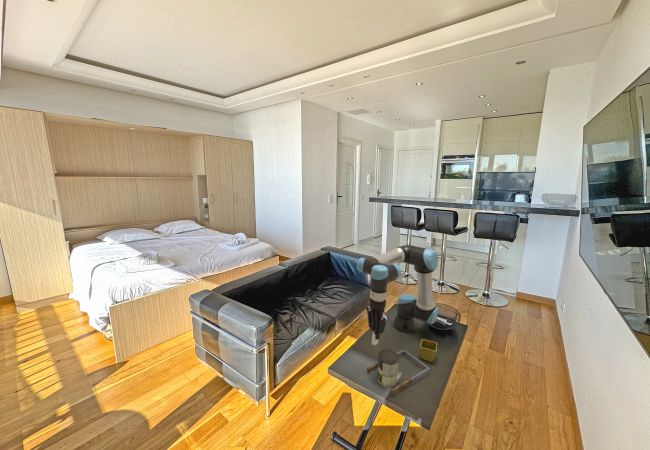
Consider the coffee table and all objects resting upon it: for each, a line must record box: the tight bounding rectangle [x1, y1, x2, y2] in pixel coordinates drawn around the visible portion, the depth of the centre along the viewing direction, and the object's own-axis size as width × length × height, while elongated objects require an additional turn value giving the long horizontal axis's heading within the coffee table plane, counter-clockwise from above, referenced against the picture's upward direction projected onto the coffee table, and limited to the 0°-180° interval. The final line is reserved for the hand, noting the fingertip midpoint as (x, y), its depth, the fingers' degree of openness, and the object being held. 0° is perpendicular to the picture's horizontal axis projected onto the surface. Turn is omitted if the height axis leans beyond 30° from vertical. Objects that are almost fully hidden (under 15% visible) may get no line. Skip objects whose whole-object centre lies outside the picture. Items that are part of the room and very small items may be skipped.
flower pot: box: [419, 338, 438, 363], centre depth 151 cm, size 9×9×9 cm
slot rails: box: [366, 362, 412, 397], centre depth 136 cm, size 14×18×3 cm
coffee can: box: [376, 348, 400, 388], centre depth 134 cm, size 10×10×14 cm
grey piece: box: [396, 349, 431, 386], centre depth 143 cm, size 15×18×3 cm
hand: (374, 343), depth 125 cm, fingers closed
